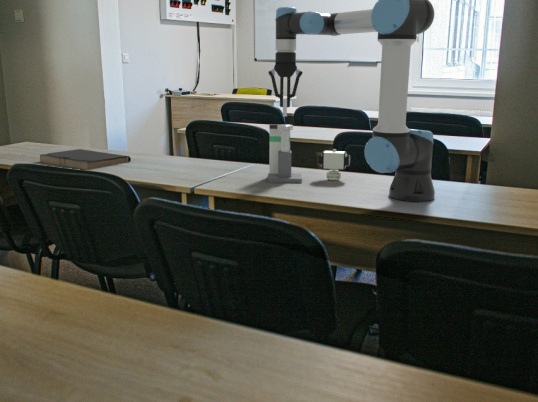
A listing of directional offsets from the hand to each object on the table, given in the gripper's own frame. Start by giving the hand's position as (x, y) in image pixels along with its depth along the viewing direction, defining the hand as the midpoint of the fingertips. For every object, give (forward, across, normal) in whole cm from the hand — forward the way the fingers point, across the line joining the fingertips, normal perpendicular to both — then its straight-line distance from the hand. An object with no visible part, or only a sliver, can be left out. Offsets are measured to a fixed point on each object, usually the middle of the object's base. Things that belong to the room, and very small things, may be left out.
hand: (284, 116), depth 218 cm
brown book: (+26, +90, -34) cm, 99 cm away
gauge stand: (+25, 0, 0) cm, 25 cm away
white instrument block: (+15, +1, 0) cm, 15 cm away
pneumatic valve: (+25, -19, -1) cm, 31 cm away
